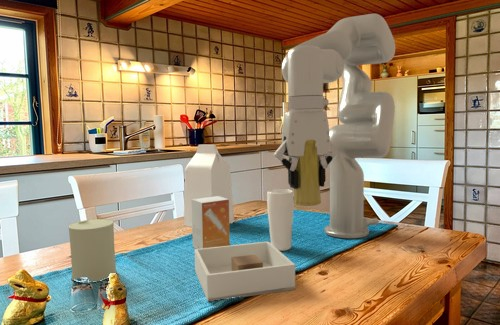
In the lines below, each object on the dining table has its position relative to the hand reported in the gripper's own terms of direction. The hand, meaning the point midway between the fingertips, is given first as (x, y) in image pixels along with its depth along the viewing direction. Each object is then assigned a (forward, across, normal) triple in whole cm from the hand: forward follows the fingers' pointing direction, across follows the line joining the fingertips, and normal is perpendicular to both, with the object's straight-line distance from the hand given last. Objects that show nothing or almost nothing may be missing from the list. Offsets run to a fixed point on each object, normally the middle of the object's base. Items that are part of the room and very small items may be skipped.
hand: (307, 186), depth 89 cm
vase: (+4, 0, 0) cm, 4 cm away
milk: (+19, +15, -45) cm, 51 cm away
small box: (+18, +19, -20) cm, 33 cm away
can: (+18, +47, -9) cm, 51 cm away
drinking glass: (+19, +2, -13) cm, 23 cm away
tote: (+18, +17, +4) cm, 25 cm away
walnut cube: (+17, +17, +8) cm, 25 cm away
